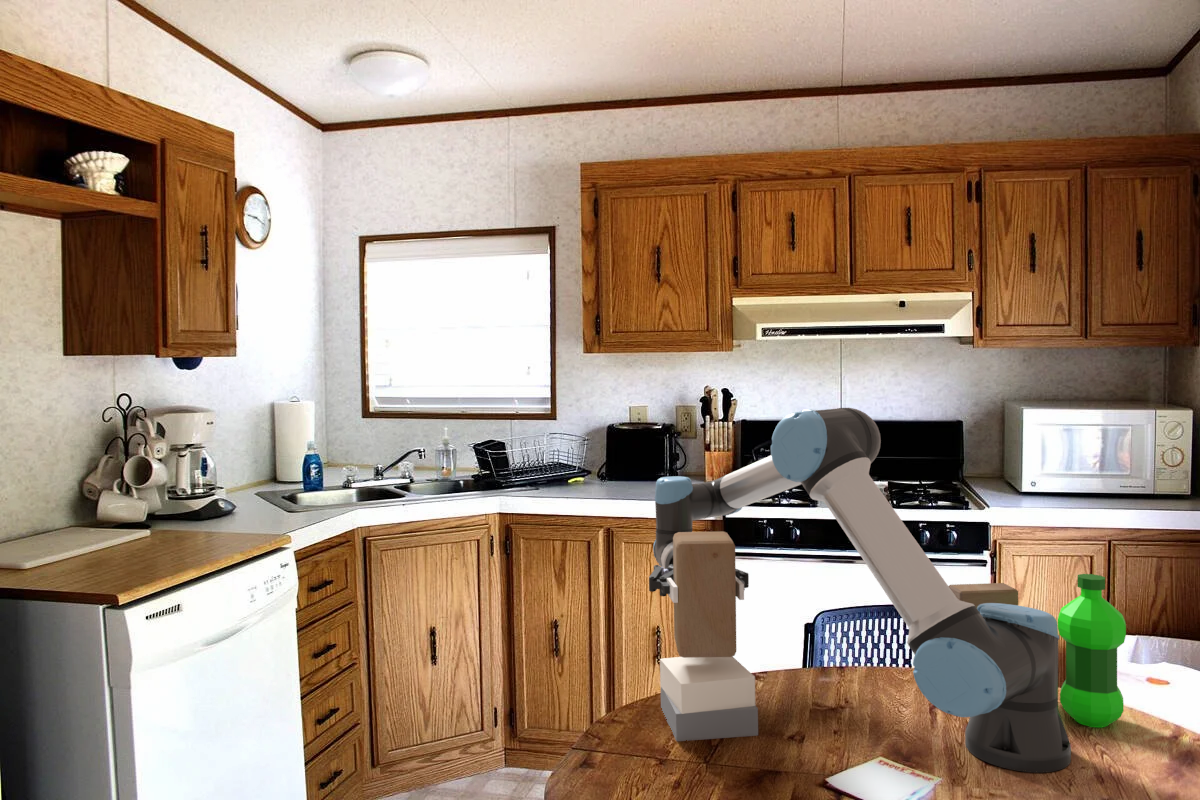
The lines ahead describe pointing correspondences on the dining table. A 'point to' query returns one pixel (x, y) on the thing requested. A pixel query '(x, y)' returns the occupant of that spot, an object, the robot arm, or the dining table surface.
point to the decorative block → (985, 593)
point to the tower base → (710, 722)
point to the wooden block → (704, 594)
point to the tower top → (707, 683)
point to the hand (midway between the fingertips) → (708, 593)
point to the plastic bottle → (1091, 655)
